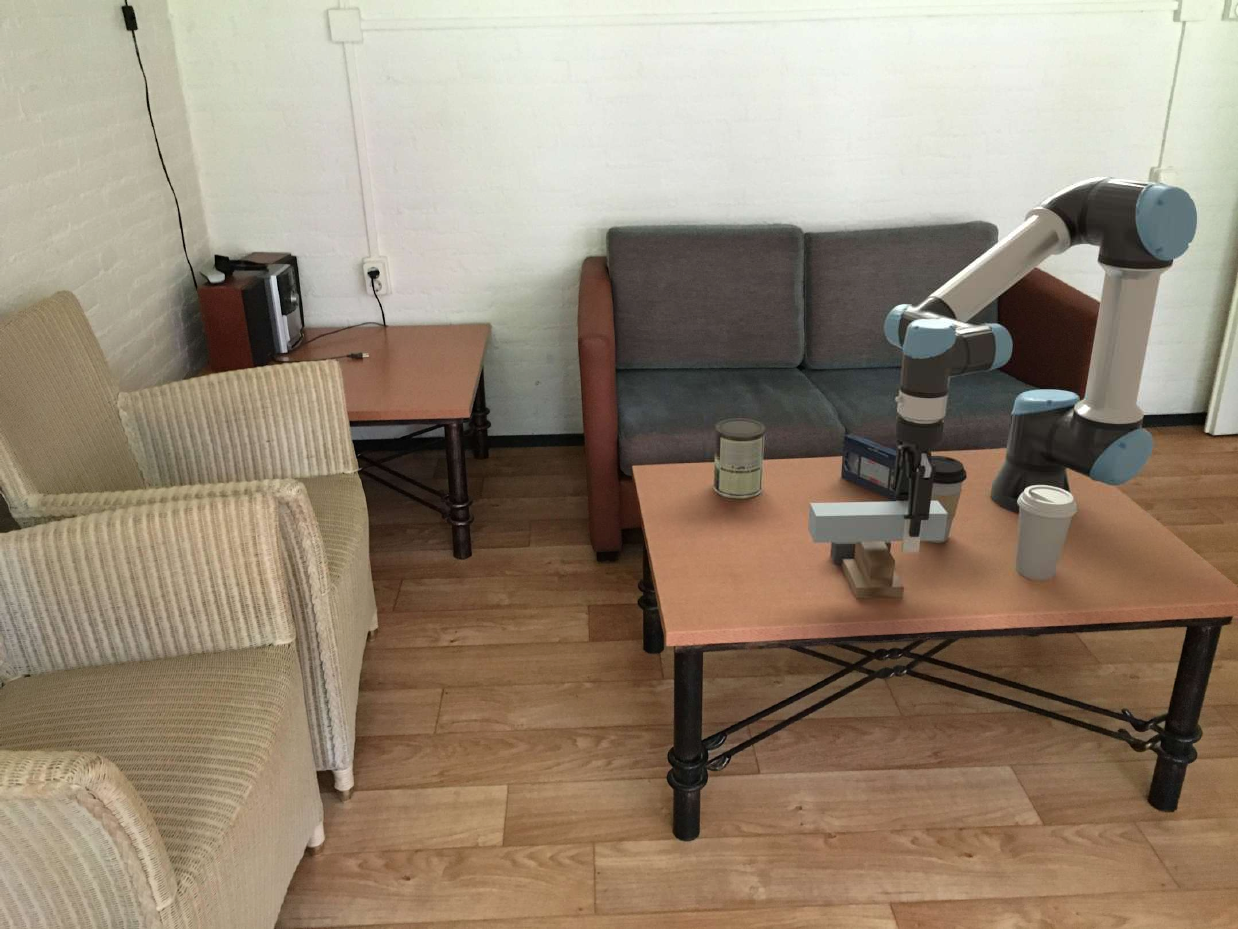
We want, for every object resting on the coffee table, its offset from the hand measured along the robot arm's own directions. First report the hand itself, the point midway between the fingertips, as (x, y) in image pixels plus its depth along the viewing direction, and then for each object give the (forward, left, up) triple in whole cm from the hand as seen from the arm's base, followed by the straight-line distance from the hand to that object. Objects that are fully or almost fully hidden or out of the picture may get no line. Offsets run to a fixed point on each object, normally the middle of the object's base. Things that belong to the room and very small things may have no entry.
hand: (904, 542), depth 168 cm
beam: (+5, 0, +2) cm, 6 cm away
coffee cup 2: (-25, -3, -8) cm, 26 cm away
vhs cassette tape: (-6, -38, -8) cm, 39 cm away
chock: (+5, -9, -8) cm, 13 cm away
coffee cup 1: (-11, -17, -8) cm, 22 cm away
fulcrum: (+5, 0, -8) cm, 9 cm away
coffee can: (+23, -40, -8) cm, 47 cm away
